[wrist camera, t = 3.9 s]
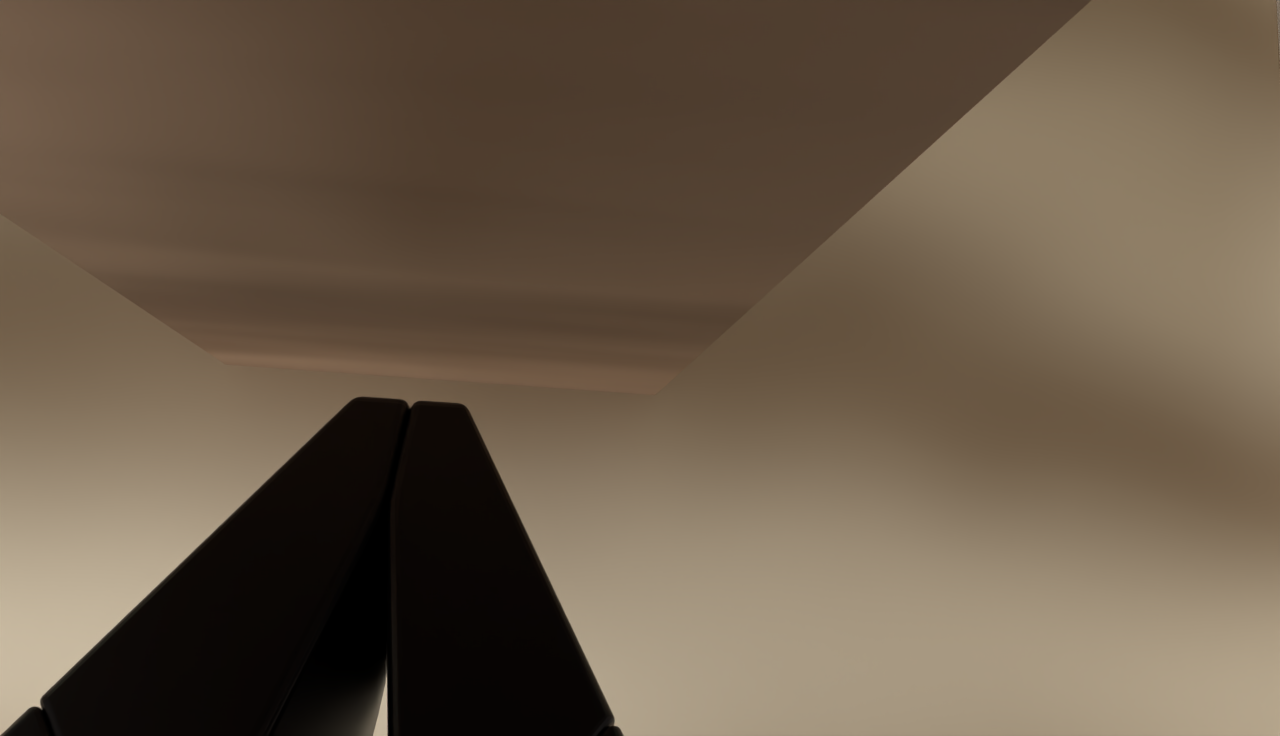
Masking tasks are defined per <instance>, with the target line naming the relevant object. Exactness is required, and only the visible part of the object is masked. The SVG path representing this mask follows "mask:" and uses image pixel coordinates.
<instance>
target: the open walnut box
mask: <svg viewBox="0 0 1280 736" xmlns="http://www.w3.org/2000/svg"><path fill="white" fill-rule="evenodd" d="M1090 1H1091V0H0V214H1V215H3V216H4V217H6V218H7V219H9V220H10V221H12V222H13V223H15V224H16V225H18V226H19V227H21V228H22V229H24V230H25V231H27V232H28V233H30V234H31V235H33V236H34V237H36V238H37V239H39V240H40V241H42V242H43V243H45V244H46V245H48V246H49V247H51V248H52V249H54V250H55V251H57V252H58V253H60V254H61V255H63V256H64V257H66V258H67V259H69V260H70V261H72V262H73V263H75V264H76V265H78V266H79V267H81V268H82V269H84V270H85V271H86V272H88V273H89V274H91V275H92V276H94V277H95V278H97V279H98V280H100V281H101V282H103V283H104V284H106V285H107V286H109V287H110V288H112V289H113V290H115V291H116V292H118V293H119V294H121V295H122V296H124V297H125V298H127V299H128V300H130V301H131V302H133V303H134V304H136V305H137V306H139V307H140V308H142V309H143V310H145V311H146V312H148V313H149V314H151V315H152V316H154V317H155V318H157V319H158V320H160V321H161V322H163V323H164V324H166V325H167V326H169V327H170V328H172V329H173V330H175V331H176V332H178V333H179V334H181V335H182V336H184V337H185V338H187V339H188V340H190V341H191V342H193V343H194V344H196V345H197V346H199V347H200V348H202V349H203V350H205V351H206V352H207V353H209V354H210V355H212V356H213V357H215V358H216V359H218V360H219V361H221V362H222V363H224V364H225V365H237V366H251V367H265V368H279V369H294V370H308V371H322V372H336V373H350V374H364V375H378V376H392V377H406V378H420V379H435V380H449V381H463V382H477V383H491V384H505V385H519V386H533V387H547V388H562V389H576V390H590V391H604V392H618V393H632V394H646V395H656V394H657V393H658V392H659V391H660V390H661V389H663V388H664V387H665V386H666V385H667V384H668V383H669V382H670V381H671V380H672V379H674V378H675V377H676V376H677V375H678V374H679V373H680V372H681V371H682V370H684V369H685V368H686V367H687V366H688V365H689V364H690V363H691V362H692V361H693V360H695V359H696V358H697V357H698V356H699V355H700V354H701V353H702V352H703V351H705V350H706V349H707V348H708V347H709V346H710V345H711V344H712V343H713V342H714V341H716V340H717V339H718V338H719V337H720V336H721V335H722V334H723V333H724V332H726V331H727V330H728V329H729V328H730V327H731V326H732V325H733V324H734V323H735V322H737V321H738V320H739V319H740V318H741V317H742V316H743V315H744V314H745V313H747V312H748V311H749V310H750V309H751V308H752V307H753V306H754V305H755V304H756V303H758V302H759V301H760V300H761V299H762V298H763V297H764V296H765V295H766V294H768V293H769V292H770V291H771V290H772V289H773V288H774V287H775V286H776V285H777V284H779V283H780V282H781V281H782V280H783V279H784V278H785V277H786V276H787V275H789V274H790V273H791V272H792V271H793V270H794V269H795V268H796V267H797V266H798V265H800V264H801V263H802V262H803V261H804V260H805V259H806V258H807V257H808V256H810V255H811V254H812V253H813V252H814V251H815V250H816V249H817V248H818V247H819V246H821V245H822V244H823V243H824V242H825V241H826V240H827V239H828V238H829V237H831V236H832V235H833V234H834V233H835V232H836V231H837V230H838V229H839V228H840V227H842V226H843V225H844V224H845V223H846V222H847V221H848V220H849V219H850V218H852V217H853V216H854V215H855V214H856V213H857V212H858V211H859V210H860V209H861V208H863V207H864V206H865V205H866V204H867V203H868V202H869V201H870V200H871V199H873V198H874V197H875V196H876V195H877V194H878V193H879V192H880V191H881V190H882V189H884V188H885V187H886V186H887V185H888V184H889V183H890V182H891V181H892V180H894V179H895V178H896V177H897V176H898V175H899V174H900V173H901V172H902V171H903V170H905V169H906V168H907V167H908V166H909V165H910V164H911V163H912V162H913V161H915V160H916V159H917V158H918V157H919V156H920V155H921V154H922V153H923V152H924V151H926V150H927V149H928V148H929V147H930V146H931V145H932V144H933V143H934V142H936V141H937V140H938V139H939V138H940V137H941V136H942V135H943V134H944V133H945V132H947V131H948V130H949V129H950V128H951V127H952V126H953V125H954V124H955V123H957V122H958V121H959V120H960V119H961V118H962V117H963V116H964V115H965V114H966V113H968V112H969V111H970V110H971V109H972V108H973V107H974V106H975V105H976V104H978V103H979V102H980V101H981V100H982V99H983V98H984V97H985V96H986V95H987V94H989V93H990V92H991V91H992V90H993V89H994V88H995V87H996V86H997V85H999V84H1000V83H1001V82H1002V81H1003V80H1004V79H1005V78H1006V77H1007V76H1008V75H1010V74H1011V73H1012V72H1013V71H1014V70H1015V69H1016V68H1017V67H1018V66H1020V65H1021V64H1022V63H1023V62H1024V61H1025V60H1026V59H1027V58H1028V57H1029V56H1031V55H1032V54H1033V53H1034V52H1035V51H1036V50H1037V49H1038V48H1039V47H1041V46H1042V45H1043V44H1044V43H1045V42H1046V41H1047V40H1048V39H1049V38H1050V37H1052V36H1053V35H1054V34H1055V33H1056V32H1057V31H1058V30H1059V29H1060V28H1062V27H1063V26H1064V25H1065V24H1066V23H1067V22H1068V21H1069V20H1070V19H1071V18H1073V17H1074V16H1075V15H1076V14H1077V13H1078V12H1079V11H1080V10H1081V9H1083V8H1084V7H1085V6H1086V5H1087V4H1088V3H1089V2H1090Z"/></svg>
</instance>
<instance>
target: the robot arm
mask: <svg viewBox="0 0 1280 736" xmlns="http://www.w3.org/2000/svg"><path fill="white" fill-rule="evenodd" d="M386 677H387V736H624V735H623V733H622V731H621V729H620V728H619V727H618V726H614V724H615V718H614V715H613V713H612V711H611V709H610V707H609V705H608V703H607V700H606V698H605V696H604V694H603V692H602V690H601V688H600V686H599V683H598V681H597V679H596V677H595V675H594V673H593V671H592V669H591V667H590V664H589V662H588V660H587V658H586V656H585V654H584V652H583V650H582V648H581V645H580V643H579V641H578V639H577V637H576V635H575V633H574V631H573V629H572V626H571V624H570V622H569V620H568V618H567V616H566V614H565V612H564V610H563V607H562V605H561V603H560V601H559V599H558V597H557V595H556V593H555V591H554V588H553V586H552V584H551V582H550V580H549V578H548V576H547V574H546V572H545V569H544V567H543V565H542V563H541V561H540V559H539V557H538V555H537V552H536V550H535V548H534V546H533V544H532V542H531V540H530V538H529V536H528V533H527V531H526V529H525V527H524V525H523V523H522V521H521V519H520V517H519V514H518V512H517V510H516V508H515V506H514V504H513V502H512V500H511V498H510V495H509V493H508V491H507V489H506V487H505V485H504V483H503V481H502V479H501V476H500V474H499V472H498V470H497V468H496V466H495V464H494V462H493V460H492V457H491V455H490V453H489V451H488V449H487V447H486V445H485V443H484V440H483V438H482V436H481V434H480V432H479V430H478V428H477V426H476V424H475V421H474V419H473V417H472V415H471V413H470V411H469V410H468V408H467V407H466V406H465V405H463V404H460V403H451V402H437V401H417V402H415V403H414V404H413V405H412V406H411V408H410V406H409V404H408V403H407V402H406V401H405V400H402V399H393V398H379V397H365V396H362V397H356V398H354V399H352V400H351V401H349V402H348V403H347V404H346V405H345V406H344V407H343V408H342V409H341V410H340V411H339V412H338V413H337V414H336V415H335V416H334V417H333V418H332V419H331V420H330V421H328V422H327V423H326V424H325V425H324V426H323V427H322V428H321V429H320V430H319V431H318V432H317V433H316V434H315V435H314V436H313V437H312V438H311V439H310V440H309V441H308V442H307V443H306V444H305V445H303V446H302V447H301V448H300V449H299V450H298V451H297V452H296V453H295V454H294V455H293V456H292V457H291V458H290V459H289V460H288V461H287V462H286V463H285V464H284V465H283V466H282V467H281V468H279V469H278V470H277V471H276V472H275V473H274V474H273V475H272V476H271V477H270V478H269V479H268V480H267V481H266V482H265V483H264V484H263V485H262V486H261V487H260V488H259V489H258V490H257V491H255V492H254V493H253V494H252V495H251V496H250V497H249V498H248V499H247V500H246V501H245V502H244V503H243V504H242V505H241V506H240V507H239V508H238V509H237V510H236V511H235V512H234V513H233V514H232V515H230V516H229V517H228V518H227V519H226V520H225V521H224V522H223V523H222V524H221V525H220V526H219V527H218V528H217V529H216V530H215V531H214V532H213V533H212V534H211V535H210V536H209V537H208V538H206V539H205V540H204V541H203V542H202V543H201V544H200V545H199V546H198V547H197V548H196V549H195V550H194V551H193V552H192V553H191V554H190V555H189V556H188V557H187V558H186V559H185V560H184V561H183V562H181V563H180V564H179V565H178V566H177V567H176V568H175V569H174V570H173V571H172V572H171V573H170V574H169V575H168V576H167V577H166V578H165V579H164V580H163V581H162V582H161V583H160V584H159V585H157V586H156V587H155V588H154V589H153V590H152V591H151V592H150V593H149V594H148V595H147V596H146V597H145V598H144V599H143V600H142V601H141V602H140V603H139V604H138V605H137V606H136V607H135V608H133V609H132V610H131V611H130V612H129V613H128V614H127V615H126V616H125V617H124V618H123V619H122V620H121V621H120V622H119V623H118V624H117V625H116V626H115V627H114V628H113V629H112V630H111V631H110V632H108V633H107V634H106V635H105V636H104V637H103V638H102V639H101V640H100V641H99V642H98V643H97V644H96V645H95V646H94V647H93V648H92V649H91V650H90V651H89V652H88V653H87V654H86V655H84V656H83V657H82V658H81V659H80V660H79V661H78V662H77V663H76V664H75V665H74V666H73V667H72V668H71V669H70V670H69V671H68V672H67V673H66V674H65V675H64V676H63V677H62V678H60V679H59V680H58V681H57V682H56V683H55V684H54V685H53V686H52V687H51V688H50V689H49V690H48V691H47V692H46V693H45V694H44V695H43V696H42V697H41V699H40V706H41V708H39V707H35V706H33V707H30V708H29V709H27V710H26V711H25V712H24V713H23V714H22V715H21V716H20V717H19V718H18V719H17V720H16V721H15V722H14V723H13V724H12V725H11V726H10V727H9V728H8V729H7V730H6V731H4V732H3V733H2V734H1V735H0V736H373V734H374V730H375V726H376V722H377V718H378V714H379V710H380V705H381V701H382V696H383V692H384V688H385V683H386ZM41 709H42V710H41Z"/></svg>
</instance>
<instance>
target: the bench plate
mask: <svg viewBox="0 0 1280 736" xmlns="http://www.w3.org/2000/svg"><path fill="white" fill-rule="evenodd" d="M362 396H365V397H379V398H393V399H402V400H405V401H406V402H407V403H408V404H409V406H410V408H411V406H412V405H413V404H414V403H415V402H417V401H437V402H451V403H460V404H463V405H465V406H466V407H467V408H468V410H469V411H470V413H471V415H472V417H473V419H474V421H475V424H476V426H477V428H478V430H479V432H480V434H481V436H482V438H483V440H484V443H485V445H486V447H487V449H488V451H489V453H490V455H491V457H492V460H493V462H494V464H495V466H496V468H497V470H498V472H499V474H500V476H501V479H502V481H503V483H504V485H505V487H506V489H507V491H508V493H509V495H510V498H511V500H512V502H513V504H514V506H515V508H516V510H517V512H518V514H519V517H520V519H521V521H522V523H523V525H524V527H525V529H526V531H527V533H528V536H529V538H530V540H531V542H532V544H533V546H534V548H535V550H536V552H537V555H538V557H539V559H540V561H541V563H542V565H543V567H544V569H545V572H546V574H547V576H548V578H549V580H550V582H551V584H552V586H553V588H554V591H555V593H556V595H557V597H558V599H559V601H560V603H561V605H562V607H563V610H564V612H565V614H566V616H567V618H568V620H569V622H570V624H571V626H572V629H573V631H574V633H575V635H576V637H577V639H578V641H579V643H580V645H581V648H582V650H583V652H584V654H585V656H586V658H587V660H588V662H589V664H590V667H591V669H592V671H593V673H594V675H595V677H596V679H597V681H598V683H599V686H600V688H601V690H602V692H603V694H604V696H605V698H606V700H607V703H608V705H609V707H610V709H611V711H612V713H613V715H614V718H615V724H614V726H618V727H619V728H620V729H621V731H622V733H623V735H624V736H1280V64H1279V44H1278V24H1277V4H1276V0H1091V1H1090V2H1089V3H1088V4H1087V5H1086V6H1085V7H1084V8H1083V9H1081V10H1080V11H1079V12H1078V13H1077V14H1076V15H1075V16H1074V17H1073V18H1071V19H1070V20H1069V21H1068V22H1067V23H1066V24H1065V25H1064V26H1063V27H1062V28H1060V29H1059V30H1058V31H1057V32H1056V33H1055V34H1054V35H1053V36H1052V37H1050V38H1049V39H1048V40H1047V41H1046V42H1045V43H1044V44H1043V45H1042V46H1041V47H1039V48H1038V49H1037V50H1036V51H1035V52H1034V53H1033V54H1032V55H1031V56H1029V57H1028V58H1027V59H1026V60H1025V61H1024V62H1023V63H1022V64H1021V65H1020V66H1018V67H1017V68H1016V69H1015V70H1014V71H1013V72H1012V73H1011V74H1010V75H1008V76H1007V77H1006V78H1005V79H1004V80H1003V81H1002V82H1001V83H1000V84H999V85H997V86H996V87H995V88H994V89H993V90H992V91H991V92H990V93H989V94H987V95H986V96H985V97H984V98H983V99H982V100H981V101H980V102H979V103H978V104H976V105H975V106H974V107H973V108H972V109H971V110H970V111H969V112H968V113H966V114H965V115H964V116H963V117H962V118H961V119H960V120H959V121H958V122H957V123H955V124H954V125H953V126H952V127H951V128H950V129H949V130H948V131H947V132H945V133H944V134H943V135H942V136H941V137H940V138H939V139H938V140H937V141H936V142H934V143H933V144H932V145H931V146H930V147H929V148H928V149H927V150H926V151H924V152H923V153H922V154H921V155H920V156H919V157H918V158H917V159H916V160H915V161H913V162H912V163H911V164H910V165H909V166H908V167H907V168H906V169H905V170H903V171H902V172H901V173H900V174H899V175H898V176H897V177H896V178H895V179H894V180H892V181H891V182H890V183H889V184H888V185H887V186H886V187H885V188H884V189H882V190H881V191H880V192H879V193H878V194H877V195H876V196H875V197H874V198H873V199H871V200H870V201H869V202H868V203H867V204H866V205H865V206H864V207H863V208H861V209H860V210H859V211H858V212H857V213H856V214H855V215H854V216H853V217H852V218H850V219H849V220H848V221H847V222H846V223H845V224H844V225H843V226H842V227H840V228H839V229H838V230H837V231H836V232H835V233H834V234H833V235H832V236H831V237H829V238H828V239H827V240H826V241H825V242H824V243H823V244H822V245H821V246H819V247H818V248H817V249H816V250H815V251H814V252H813V253H812V254H811V255H810V256H808V257H807V258H806V259H805V260H804V261H803V262H802V263H801V264H800V265H798V266H797V267H796V268H795V269H794V270H793V271H792V272H791V273H790V274H789V275H787V276H786V277H785V278H784V279H783V280H782V281H781V282H780V283H779V284H777V285H776V286H775V287H774V288H773V289H772V290H771V291H770V292H769V293H768V294H766V295H765V296H764V297H763V298H762V299H761V300H760V301H759V302H758V303H756V304H755V305H754V306H753V307H752V308H751V309H750V310H749V311H748V312H747V313H745V314H744V315H743V316H742V317H741V318H740V319H739V320H738V321H737V322H735V323H734V324H733V325H732V326H731V327H730V328H729V329H728V330H727V331H726V332H724V333H723V334H722V335H721V336H720V337H719V338H718V339H717V340H716V341H714V342H713V343H712V344H711V345H710V346H709V347H708V348H707V349H706V350H705V351H703V352H702V353H701V354H700V355H699V356H698V357H697V358H696V359H695V360H693V361H692V362H691V363H690V364H689V365H688V366H687V367H686V368H685V369H684V370H682V371H681V372H680V373H679V374H678V375H677V376H676V377H675V378H674V379H672V380H671V381H670V382H669V383H668V384H667V385H666V386H665V387H664V388H663V389H661V390H660V391H659V392H658V393H657V394H656V395H646V394H632V393H618V392H604V391H590V390H576V389H562V388H547V387H533V386H519V385H505V384H491V383H477V382H463V381H449V380H435V379H420V378H406V377H392V376H378V375H364V374H350V373H336V372H322V371H308V370H294V369H279V368H265V367H251V366H237V365H225V364H224V363H222V362H221V361H219V360H218V359H216V358H215V357H213V356H212V355H210V354H209V353H207V352H206V351H205V350H203V349H202V348H200V347H199V346H197V345H196V344H194V343H193V342H191V341H190V340H188V339H187V338H185V337H184V336H182V335H181V334H179V333H178V332H176V331H175V330H173V329H172V328H170V327H169V326H167V325H166V324H164V323H163V322H161V321H160V320H158V319H157V318H155V317H154V316H152V315H151V314H149V313H148V312H146V311H145V310H143V309H142V308H140V307H139V306H137V305H136V304H134V303H133V302H131V301H130V300H128V299H127V298H125V297H124V296H122V295H121V294H119V293H118V292H116V291H115V290H113V289H112V288H110V287H109V286H107V285H106V284H104V283H103V282H101V281H100V280H98V279H97V278H95V277H94V276H92V275H91V274H89V273H88V272H86V271H85V270H84V269H82V268H81V267H79V266H78V265H76V264H75V263H73V262H72V261H70V260H69V259H67V258H66V257H64V256H63V255H61V254H60V253H58V252H57V251H55V250H54V249H52V248H51V247H49V246H48V245H46V244H45V243H43V242H42V241H40V240H39V239H37V238H36V237H34V236H33V235H31V234H30V233H28V232H27V231H25V230H24V229H22V228H21V227H19V226H18V225H16V224H15V223H13V222H12V221H10V220H9V219H7V218H6V217H4V216H3V215H1V214H0V735H1V734H2V733H3V732H4V731H6V730H7V729H8V728H9V727H10V726H11V725H12V724H13V723H14V722H15V721H16V720H17V719H18V718H19V717H20V716H21V715H22V714H23V713H24V712H25V711H26V710H27V709H29V708H30V707H33V706H35V707H39V708H41V706H40V699H41V697H42V696H43V695H44V694H45V693H46V692H47V691H48V690H49V689H50V688H51V687H52V686H53V685H54V684H55V683H56V682H57V681H58V680H59V679H60V678H62V677H63V676H64V675H65V674H66V673H67V672H68V671H69V670H70V669H71V668H72V667H73V666H74V665H75V664H76V663H77V662H78V661H79V660H80V659H81V658H82V657H83V656H84V655H86V654H87V653H88V652H89V651H90V650H91V649H92V648H93V647H94V646H95V645H96V644H97V643H98V642H99V641H100V640H101V639H102V638H103V637H104V636H105V635H106V634H107V633H108V632H110V631H111V630H112V629H113V628H114V627H115V626H116V625H117V624H118V623H119V622H120V621H121V620H122V619H123V618H124V617H125V616H126V615H127V614H128V613H129V612H130V611H131V610H132V609H133V608H135V607H136V606H137V605H138V604H139V603H140V602H141V601H142V600H143V599H144V598H145V597H146V596H147V595H148V594H149V593H150V592H151V591H152V590H153V589H154V588H155V587H156V586H157V585H159V584H160V583H161V582H162V581H163V580H164V579H165V578H166V577H167V576H168V575H169V574H170V573H171V572H172V571H173V570H174V569H175V568H176V567H177V566H178V565H179V564H180V563H181V562H183V561H184V560H185V559H186V558H187V557H188V556H189V555H190V554H191V553H192V552H193V551H194V550H195V549H196V548H197V547H198V546H199V545H200V544H201V543H202V542H203V541H204V540H205V539H206V538H208V537H209V536H210V535H211V534H212V533H213V532H214V531H215V530H216V529H217V528H218V527H219V526H220V525H221V524H222V523H223V522H224V521H225V520H226V519H227V518H228V517H229V516H230V515H232V514H233V513H234V512H235V511H236V510H237V509H238V508H239V507H240V506H241V505H242V504H243V503H244V502H245V501H246V500H247V499H248V498H249V497H250V496H251V495H252V494H253V493H254V492H255V491H257V490H258V489H259V488H260V487H261V486H262V485H263V484H264V483H265V482H266V481H267V480H268V479H269V478H270V477H271V476H272V475H273V474H274V473H275V472H276V471H277V470H278V469H279V468H281V467H282V466H283V465H284V464H285V463H286V462H287V461H288V460H289V459H290V458H291V457H292V456H293V455H294V454H295V453H296V452H297V451H298V450H299V449H300V448H301V447H302V446H303V445H305V444H306V443H307V442H308V441H309V440H310V439H311V438H312V437H313V436H314V435H315V434H316V433H317V432H318V431H319V430H320V429H321V428H322V427H323V426H324V425H325V424H326V423H327V422H328V421H330V420H331V419H332V418H333V417H334V416H335V415H336V414H337V413H338V412H339V411H340V410H341V409H342V408H343V407H344V406H345V405H346V404H347V403H348V402H349V401H351V400H352V399H354V398H356V397H362ZM41 710H42V709H41ZM373 736H387V677H386V683H385V688H384V692H383V696H382V701H381V705H380V710H379V714H378V718H377V722H376V726H375V730H374V734H373Z"/></svg>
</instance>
